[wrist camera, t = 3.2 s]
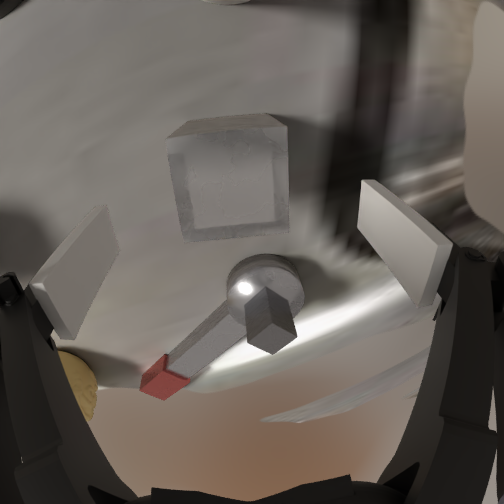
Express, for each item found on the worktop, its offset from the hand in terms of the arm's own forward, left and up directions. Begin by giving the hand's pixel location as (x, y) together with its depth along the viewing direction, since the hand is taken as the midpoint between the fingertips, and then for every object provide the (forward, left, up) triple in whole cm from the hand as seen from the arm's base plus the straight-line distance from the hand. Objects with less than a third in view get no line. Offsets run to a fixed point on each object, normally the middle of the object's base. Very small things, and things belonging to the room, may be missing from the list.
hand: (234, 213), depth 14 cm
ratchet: (+23, +2, -12) cm, 26 cm away
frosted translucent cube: (0, 0, -12) cm, 12 cm away
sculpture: (+38, -19, -12) cm, 44 cm away
